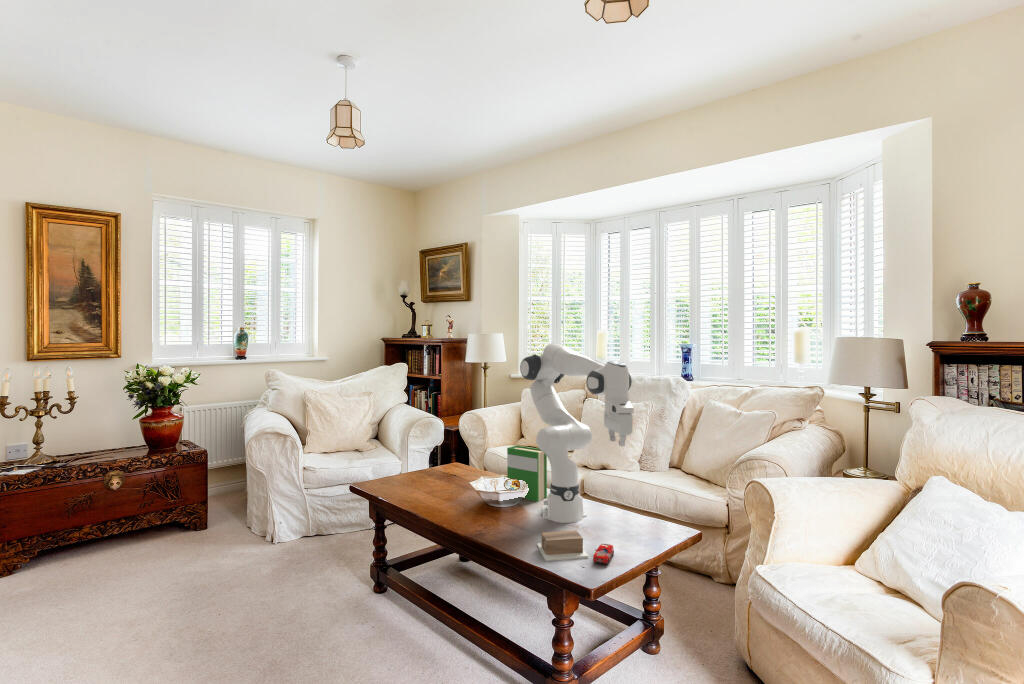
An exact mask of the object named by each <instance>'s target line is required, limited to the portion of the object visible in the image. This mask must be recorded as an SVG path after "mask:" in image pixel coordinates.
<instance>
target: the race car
mask: <svg viewBox="0 0 1024 684" xmlns="http://www.w3.org/2000/svg"><path fill="white" fill-rule="evenodd" d="M594 551H595V552H594V554H593V556H592V557H593V558H592V561H593V562H594V563H598V564H607V565H609V563H610V561H611V559H612V557H614V555H615V554H614V553H615V550H614V545H613V544H609V543H601V544H600V545H598V548H596V549H594Z"/></svg>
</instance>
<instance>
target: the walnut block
mask: <svg viewBox="0 0 1024 684" xmlns="http://www.w3.org/2000/svg"><path fill="white" fill-rule="evenodd" d="M540 541H541V542H540V543H541V546H542V548H543V550H544V552H545V553H546V555H554V554H569V553H583V549H584V546H583V545H584V538H583V536H582V535H581V534H580V533H579V532H578V530H577V529H576V530H575V529H572V530H556V531H542V532H541V540H540Z"/></svg>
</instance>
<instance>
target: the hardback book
mask: <svg viewBox="0 0 1024 684" xmlns="http://www.w3.org/2000/svg"><path fill="white" fill-rule="evenodd" d="M506 449H507V451H506V453H507V457H506V458H507V462H506V463H507V470H506V471H507V472H506V473H507V474H506V475H507V478H510V479H517V480H523V481H525V482H526V484H528V488H529V491H528V493H527V495H526V496H525V499H524V500H529V501H533V502H536V503H538V502H540V501H542V500H544V499H547V496H548V478H547V477H548V476H547V475H548V473H547V471H548V470H547V469H548V468H547V467H548V464H547V463H548V459H547V458H548V457H547V455H546V454H545V453H544V452H543V451H541V450H540V449H539V447H538V448H536V447H530V446H529V447H528V446H523V445H517V444H516V445H512V446H510V447H509V446H508V447H507V448H506Z"/></svg>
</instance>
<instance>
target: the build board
mask: <svg viewBox="0 0 1024 684" xmlns="http://www.w3.org/2000/svg"><path fill="white" fill-rule="evenodd" d="M536 545H537V546H536V547H538V549H539V551H540V553H541V555H542V557H543V559H544V561H545V562H548V561H564V560H567V561H568V560H581V559H589V554H588V553H587V552H586V551H585V549H584V548H583V553H569V554H554V555H546V553H545V552H544V550H543V548H542V546H541V542H538V543H536Z"/></svg>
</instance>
